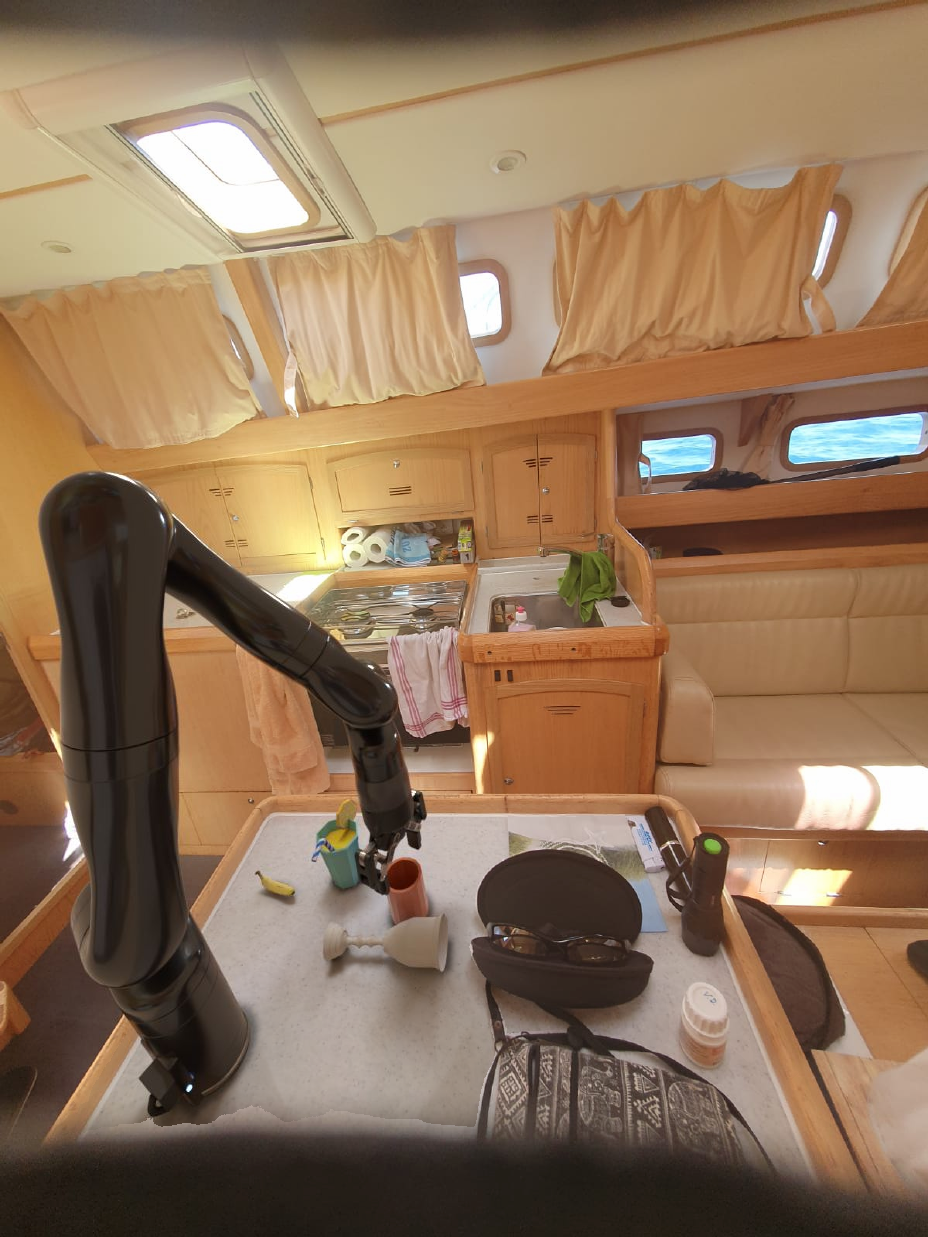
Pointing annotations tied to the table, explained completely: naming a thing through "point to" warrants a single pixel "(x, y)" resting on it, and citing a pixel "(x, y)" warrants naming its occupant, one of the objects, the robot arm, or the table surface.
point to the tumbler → (406, 890)
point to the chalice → (398, 942)
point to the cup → (340, 846)
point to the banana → (275, 886)
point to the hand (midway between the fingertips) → (400, 868)
